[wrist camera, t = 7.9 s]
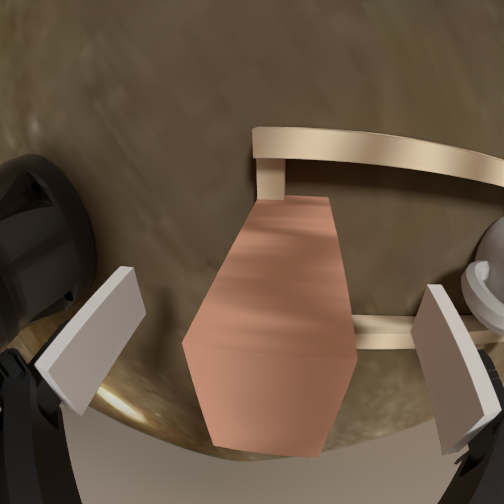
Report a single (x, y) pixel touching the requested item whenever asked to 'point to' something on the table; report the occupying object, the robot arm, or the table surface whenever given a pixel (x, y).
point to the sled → (300, 298)
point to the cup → (487, 280)
